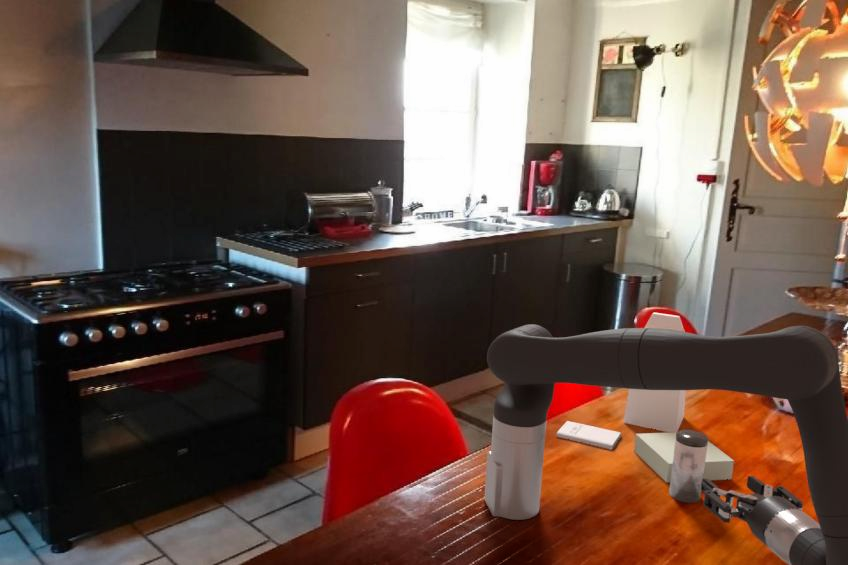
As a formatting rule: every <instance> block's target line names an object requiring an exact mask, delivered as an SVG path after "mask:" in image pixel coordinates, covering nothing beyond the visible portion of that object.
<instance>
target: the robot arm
mask: <svg viewBox="0 0 848 565" xmlns="http://www.w3.org/2000/svg"><path fill="white" fill-rule="evenodd" d="M486 362H487V365H488V368H489V369H490V371H491V373H492V374H493V375H494V376H495V377H496V378H498V380H500V381H501V382H503V383H505V384H504V386H503V388H502V389H501V391H499V392H500V393H499V394H498V395H497V396H496V398H495V399H494V403H493V412H492V413H493V415H492V429H491V431H492V432H491V446H490V448H491V449H490V451H489V450H488V451H487V454H486V469H485V483H484V484H485V485H484V498H483V499H484V501H485V504H486V505H487V507H488V510H489V511H490V514H491V516H492V517H500V518H504V519H508V520H516V521H519V520H528V519H531V518H533V517H535V516H537V515H538V513H539V511H540V504H541V492H542V480H543V469H544V468H543V467H544V455H545V445H546V444H545V443H546V432H547V421H548V420H547V418H548V411H549V408H550V406H551V405H552V403H553V399H554V392H555V384H572V385H583V386H593V387H603V388H605V387H607V388H619V389H620V388H621V389H628V390H629V389H643V390H686V391H699V390H702V391H703V390H716V391H729V392H737V393H744V394H751V395H757V396H763V397H770V398H773V399H774V398H776V399H781V400H782V399H783V400H787V401H788V402H787V403H788V404H789V406H790V408H791V411H792V413H793V415H794V416H793V417H794V418H795V421H796V424H797V425H796V426H797V428H798V432H799V435H800V440H801V445H802V450H803V456H804V457H803V458H804V464H805V473H806V480H807V485H808V490H809V494H810V498H811V502H812V506H813V509H814V512H815V515H816V518H817V521H816V520H815V519H813V518H812V517H811V516H809V515H808V514H807V513H805V512H804V511H803V505H804V502H803V501H802V500H801V499H799V498H798V497H797V496H795V495H794V494H793V493H792V492H791V491H789V490H788V489H787V488H786V487H784V486H782V485H777V486H776V487H773V486H772V485H770V484H765V482H763V481H761V479H758V478H757V477H755V476H754V475H748V476H747V481H746V486H747V487H746V488H748V489H749V490H750V491H751V492H753V493H752V494H746V493H745V494H744V493H741V492H738V491H735V490H732V489H731V490H728V491H727V490H723V489H721V488H719V487H718V486H717V485H716V484H715V483H713V482H712V480H709V479H707V478H706V479H702V482H701V493H703V494H704V498H703V503H702V504H703V507H705V508H706V510H708V511H709V512H711V514H713V515H714V516H715V517H717V518H718V519H719V520H720V521H721V522H723V523H727V524H729V523H730V522H731V518H738V519H739V520H741V521H743V522H745V523H747V525H748V527H749V530H750V531H751V533H752V535H753V536H754V537H756V539H757V540H759V541H760V542H761V543H762V544H763V545H764V546H765V547H767V548H768V549H769V550H770V551H771V552H772V553H773V554H774V555H776V556H777V557H778V558H779V559H781V560H782V561H783V562H784V563H786V564H787V565H848V413H847V409H846V404H845V399H844V394H843V392H844V391H843V387H842V386H843V385H842V379H841V372H840V366H839V365H840V364H839V356H838V351H837V348H836V346H835V344H834V343H833V341H831V339H830V338H829V337H828V335H826V334H825V333H823V332H822V331H820V330H818V329H816V328H814V327H811V326H808V325H794V326H792V325H791V326H788V327H785V328H782V329H779V330H776V331H771V332H768V333H767V332H765V333H757V334H748V335H734V336H733V335H731V336H711V335H703V334H696V333H691V332H688V331H685V332H683V331H676V330H669V329H658V328H645V327H629V328H628V327H625V328H614V329H608V330H607V329H606V330H600V331H593V332H588V333H582V334H579V335H578V334H577V335H572V336H567V337H566V336H565V337H553V335H552V334H551V332H550V331H549V330H548V329H547V328H546V327H543V326H542V325H538V324H532V323H531V324H524V325H522V326H518V327H515V328H513V329H509V330H508V331H505V332H503V333H501V334H500V335H498V336H496V338H495V339H494V340H493V341H491V343H490V345H489V346H488V349H487V354H486ZM721 497H723V498H725V501H724V500H723V499H722V498H721ZM734 498H735V499H737V500H736V506H735V507H734V505H733V503H734Z"/></svg>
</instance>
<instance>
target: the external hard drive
mask: <svg viewBox="0 0 848 565" xmlns="http://www.w3.org/2000/svg"><path fill="white" fill-rule="evenodd" d="M556 437H557V438H560V439H565V440H568V439H569V441H573V442H576V441H577V442H576V443H581V442H582V444H585V443H586V444H585V445H589V444H590V445H589V446H593V445H594V447H597V446H598V447H597V448H601V447H602V449H605V448H606V450H610V451H612V450H614V448H615V446H617V444H618V442H619V441H620V439H621V438H622V432H620V431H617V430H616V431H615V430H611V429H606V428H602V427H597V426H592V425H588V424H583V423H578V422H575V421H569V420H566V422H565V423H564V424H563V425H562V426H561V427H560V428H559V429H558V431H557V432H556ZM618 440H619V441H618Z"/></svg>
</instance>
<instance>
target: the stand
mask: <svg viewBox="0 0 848 565" xmlns="http://www.w3.org/2000/svg"><path fill="white" fill-rule="evenodd" d="M675 440H676V432H671V433H669V432H652V433H651V432H650V433H649V432H647V433H644V432H643V433H635V437H634V446H633V448H634V449H633V452H634V453H635V454H636V455H638V456H637V457H639V458H640V459H641V460H642V461H643V462H645V464H646V465H648V466H649V468H651V469H652V471H654V473H656V474H657V475H658V476H659V477H660V478H661V479H662V480H663V481H664V482H665V483H670V480H671V472H672V464H673V456H674V448H675ZM734 464H735V460H734V459H732V458H731V457H730V456H729V455H727V454H726V453H724V452H723V451H722V450H721V449H719V447H717V446H716V445H714V444H713V443H712V442H710V441H709V440H708V445H707V452H706V460H705V468H704V475H703V479H706V478H707V479H709V480H710V481H724V480H725V481H726V480H727V479H728V480H732V478H733V471H734Z"/></svg>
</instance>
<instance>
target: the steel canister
mask: <svg viewBox="0 0 848 565" xmlns="http://www.w3.org/2000/svg"><path fill="white" fill-rule="evenodd" d="M708 441H709V437H708V436H707V435H706V434H704V433H703V432H700V431H696V430H691V429H681V430H680V429H678V431H677V432H676V440H675V448H674V456H673V464H672V472H671V480H670V482H669V490H668V493H669V495H670V496H671V498H673V499H675V500H677V501H680V502H683V503H687V504H691V503H692V504H694V503H699V501H701V495H702V491H701V482H702V479H703V475H704V468H705V460H706V452H707V445H708Z"/></svg>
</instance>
